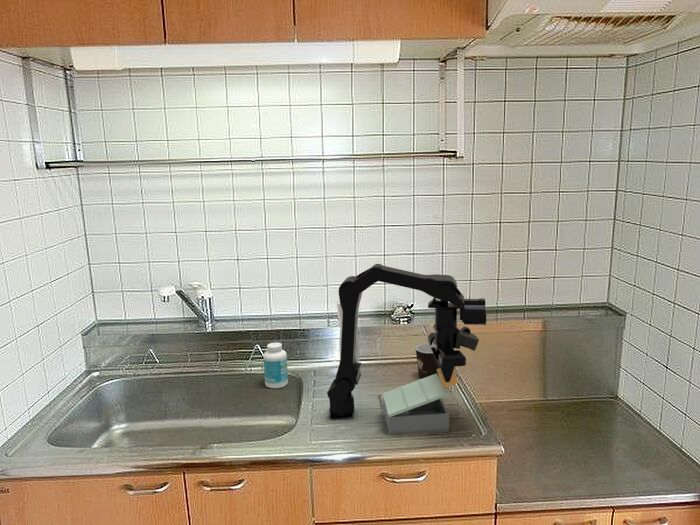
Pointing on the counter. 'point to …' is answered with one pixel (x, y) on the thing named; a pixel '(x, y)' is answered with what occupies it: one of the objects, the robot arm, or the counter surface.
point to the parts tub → (418, 419)
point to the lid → (417, 393)
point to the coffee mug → (426, 361)
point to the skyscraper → (341, 331)
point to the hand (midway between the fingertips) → (445, 378)
